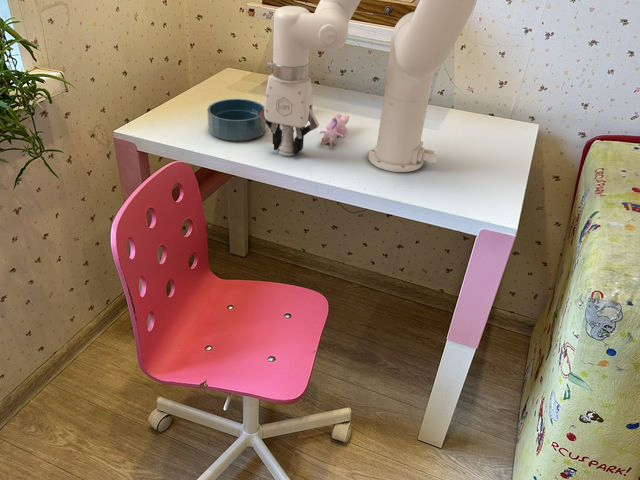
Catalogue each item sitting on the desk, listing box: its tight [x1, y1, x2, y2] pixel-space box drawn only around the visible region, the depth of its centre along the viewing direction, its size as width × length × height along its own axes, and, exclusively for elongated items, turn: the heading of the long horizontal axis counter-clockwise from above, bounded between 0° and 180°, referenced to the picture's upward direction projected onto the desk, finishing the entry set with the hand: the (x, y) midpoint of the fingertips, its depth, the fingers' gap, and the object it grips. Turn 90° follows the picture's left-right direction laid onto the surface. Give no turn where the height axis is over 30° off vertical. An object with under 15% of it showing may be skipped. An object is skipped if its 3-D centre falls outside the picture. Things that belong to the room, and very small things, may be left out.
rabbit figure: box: [319, 113, 350, 149], centre depth 137 cm, size 6×6×15 cm
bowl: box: [206, 98, 267, 142], centre depth 138 cm, size 14×14×6 cm
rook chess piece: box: [277, 124, 296, 158], centre depth 128 cm, size 4×4×8 cm
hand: (287, 149), depth 130 cm, fingers closed on rook chess piece, 4 cm apart
